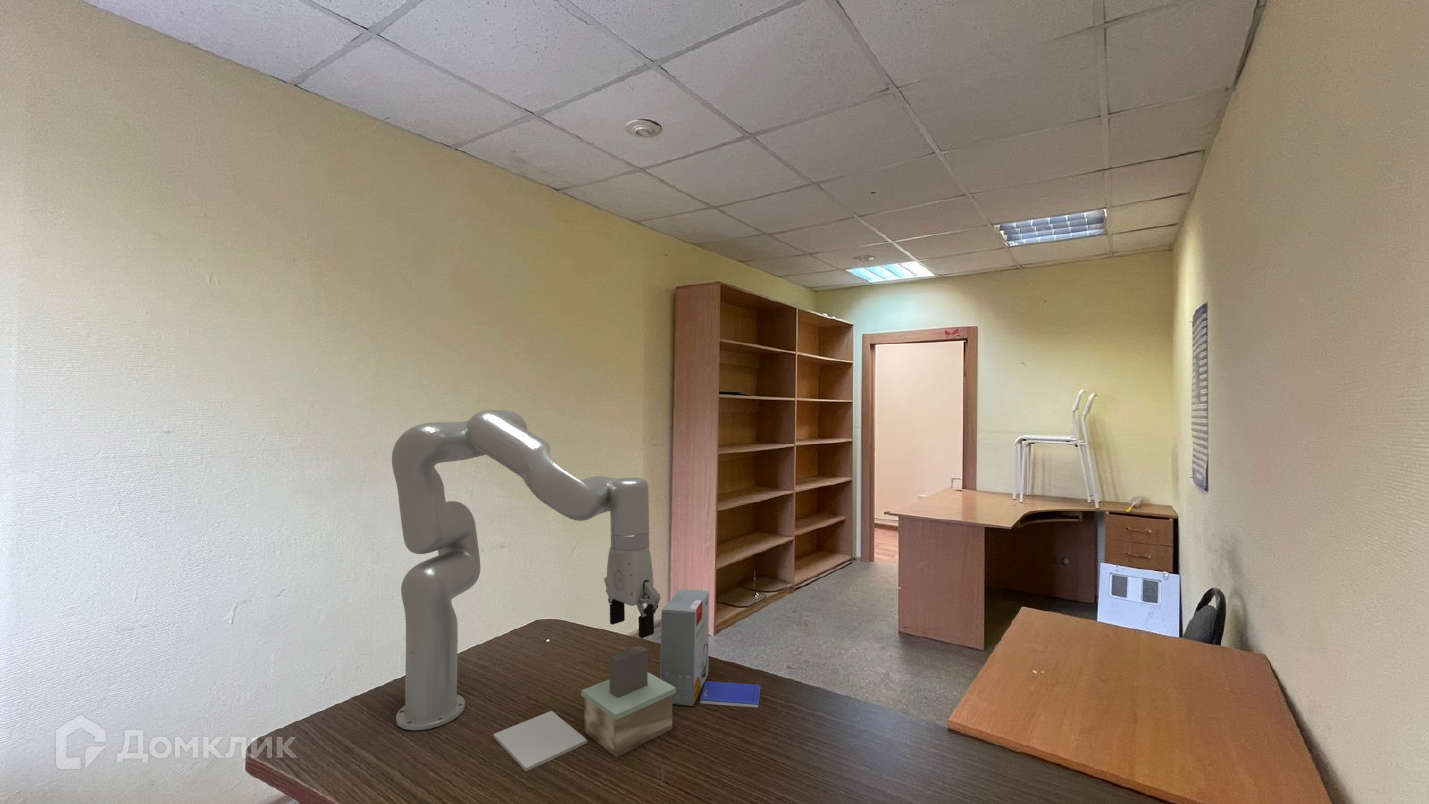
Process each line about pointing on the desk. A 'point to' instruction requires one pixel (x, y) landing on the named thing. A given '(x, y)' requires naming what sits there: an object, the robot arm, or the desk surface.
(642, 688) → the lid
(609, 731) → the crate
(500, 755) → the desk surface
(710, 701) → the hard drive
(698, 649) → the hard drive box
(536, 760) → the mat
